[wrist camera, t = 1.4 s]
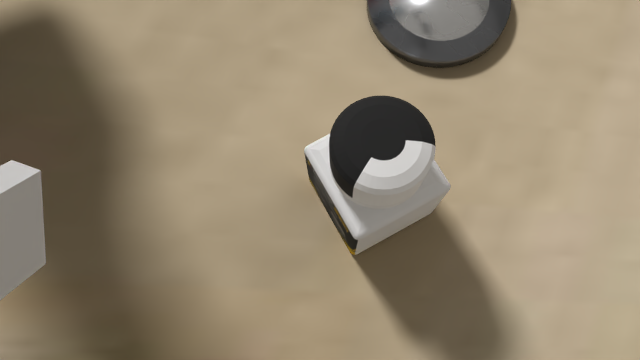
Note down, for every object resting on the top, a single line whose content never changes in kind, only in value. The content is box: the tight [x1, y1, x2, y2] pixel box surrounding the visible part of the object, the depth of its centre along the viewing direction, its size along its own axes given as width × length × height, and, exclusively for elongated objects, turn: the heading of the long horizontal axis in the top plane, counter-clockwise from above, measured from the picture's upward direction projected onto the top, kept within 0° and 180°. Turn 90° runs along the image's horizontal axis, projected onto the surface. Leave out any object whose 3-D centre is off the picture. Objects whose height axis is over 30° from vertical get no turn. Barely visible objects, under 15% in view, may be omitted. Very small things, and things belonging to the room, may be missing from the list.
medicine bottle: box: [304, 96, 451, 255], centre depth 34 cm, size 7×7×12 cm
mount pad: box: [367, 0, 511, 68], centre depth 44 cm, size 12×12×1 cm
